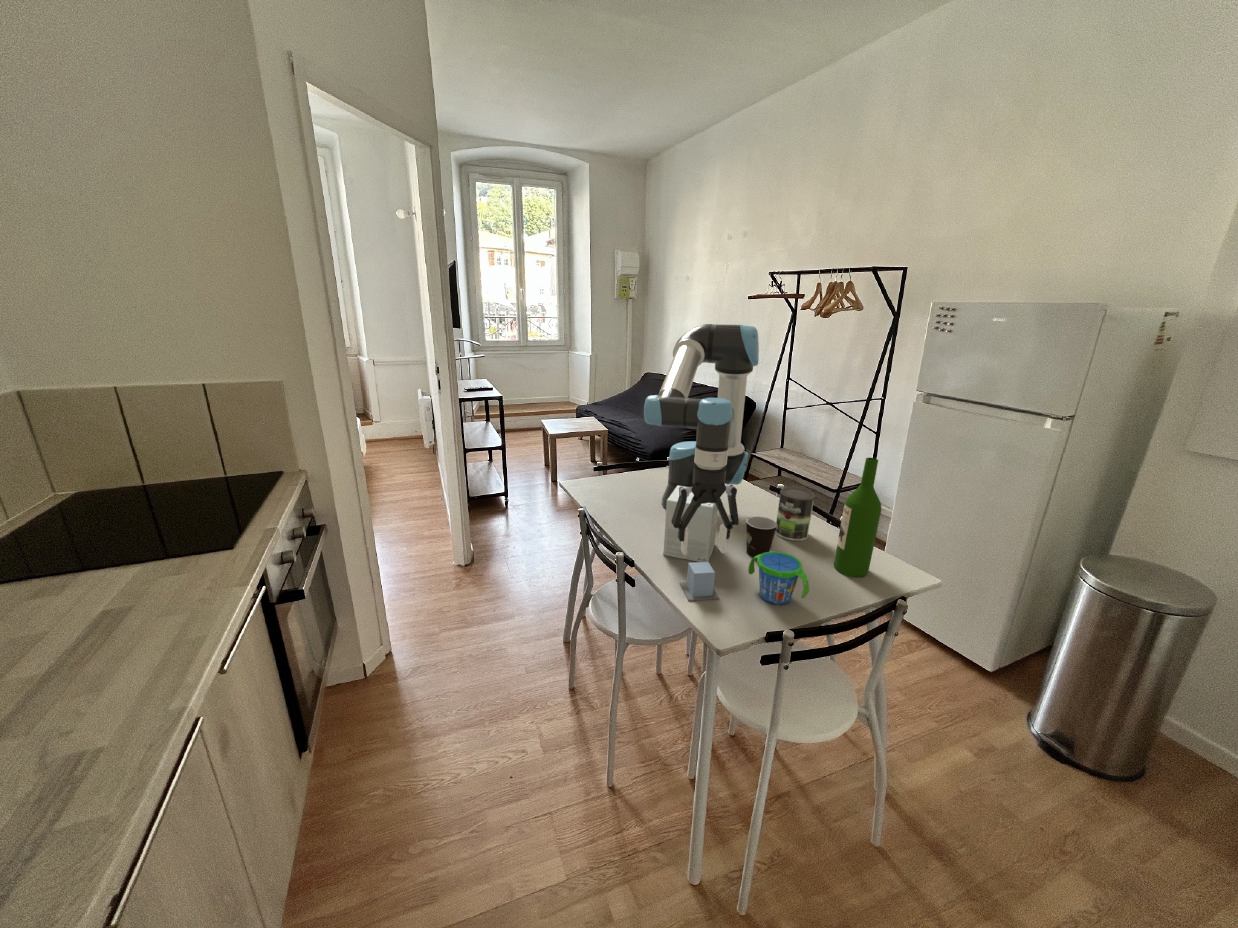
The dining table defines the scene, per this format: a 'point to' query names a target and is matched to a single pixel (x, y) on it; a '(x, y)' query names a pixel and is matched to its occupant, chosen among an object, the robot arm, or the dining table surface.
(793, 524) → the coffee can
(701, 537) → the supplement box
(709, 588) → the light blue block
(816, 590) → the dining table surface
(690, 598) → the grey square base
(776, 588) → the snack cup
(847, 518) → the wine bottle
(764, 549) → the coffee mug
